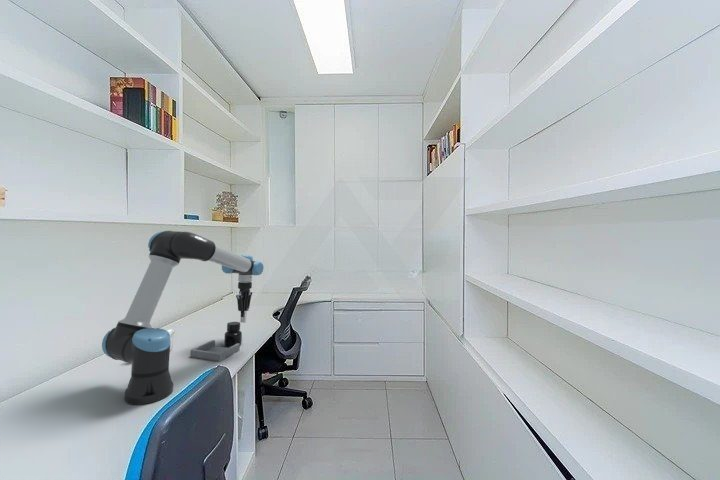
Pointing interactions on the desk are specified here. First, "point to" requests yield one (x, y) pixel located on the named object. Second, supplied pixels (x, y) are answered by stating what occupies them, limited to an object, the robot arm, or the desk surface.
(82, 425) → the desk surface
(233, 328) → the ink bottle
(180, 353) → the desk surface
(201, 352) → the tray
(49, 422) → the desk surface
